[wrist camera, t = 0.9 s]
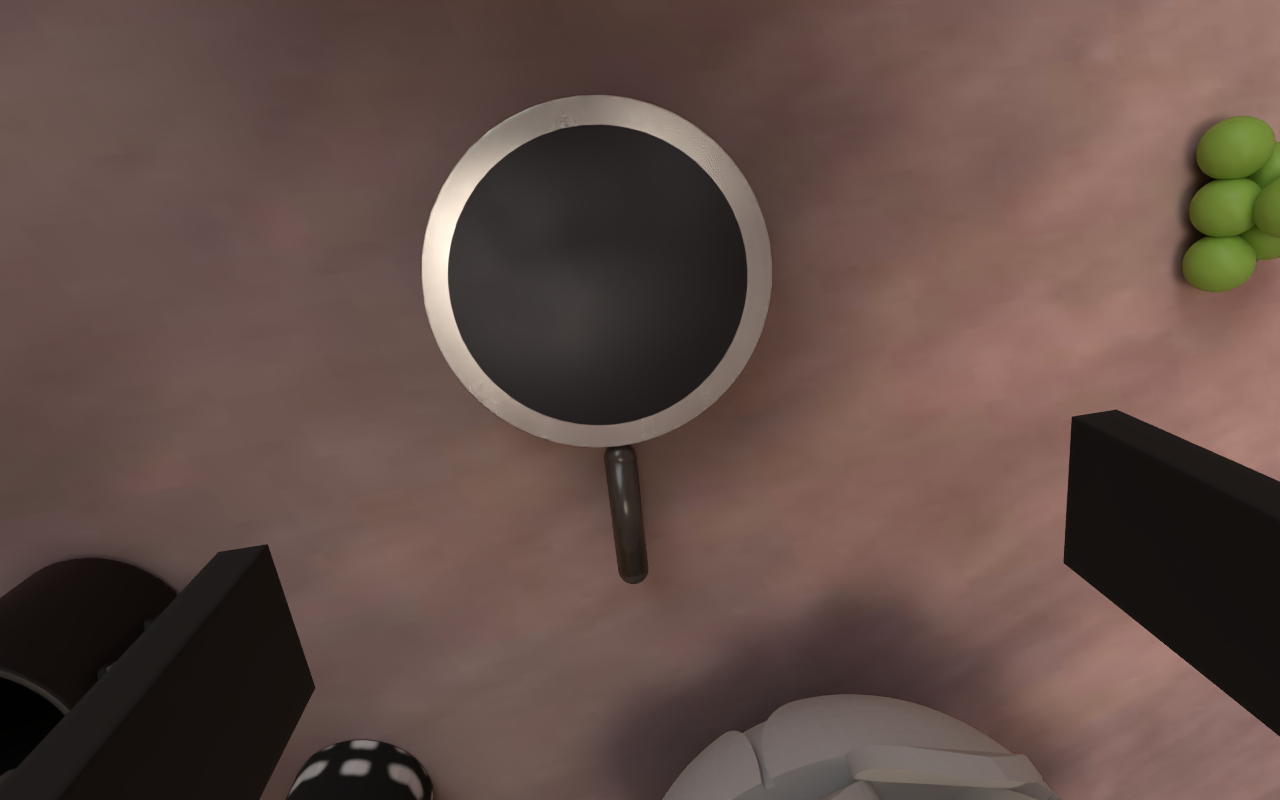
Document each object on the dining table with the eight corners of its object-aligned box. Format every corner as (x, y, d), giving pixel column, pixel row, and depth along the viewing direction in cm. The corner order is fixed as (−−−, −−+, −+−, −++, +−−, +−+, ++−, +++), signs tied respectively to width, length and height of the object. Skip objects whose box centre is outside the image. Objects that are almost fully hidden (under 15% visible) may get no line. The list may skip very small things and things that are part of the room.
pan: (405, 120, 33) (386, 113, 30) (746, 85, 34) (765, 75, 31) (490, 573, 41) (482, 610, 37) (769, 537, 42) (786, 569, 38)
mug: (272, 642, 41) (191, 766, 32) (87, 727, 41) (-41, 871, 33) (170, 506, 38) (50, 603, 29) (-27, 599, 39) (-200, 721, 30)
